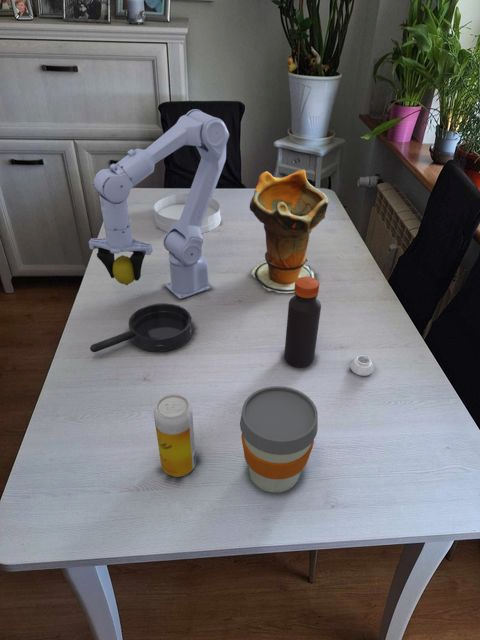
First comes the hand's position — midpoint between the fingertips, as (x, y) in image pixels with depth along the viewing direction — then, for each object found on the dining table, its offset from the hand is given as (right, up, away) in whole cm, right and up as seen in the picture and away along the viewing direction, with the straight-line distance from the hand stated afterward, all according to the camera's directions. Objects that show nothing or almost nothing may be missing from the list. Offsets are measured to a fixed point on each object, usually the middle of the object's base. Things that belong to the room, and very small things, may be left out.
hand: (125, 277), depth 119 cm
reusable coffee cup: (+36, -39, -32) cm, 62 cm away
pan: (+9, -14, -3) cm, 17 cm away
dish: (+8, +26, +47) cm, 54 cm away
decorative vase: (+40, +2, +19) cm, 44 cm away
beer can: (+19, -38, -32) cm, 53 cm away
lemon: (0, -2, +1) cm, 2 cm away
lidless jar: (+56, -22, -10) cm, 61 cm away
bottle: (+42, -20, -8) cm, 47 cm away
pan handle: (0, -17, -10) cm, 19 cm away
